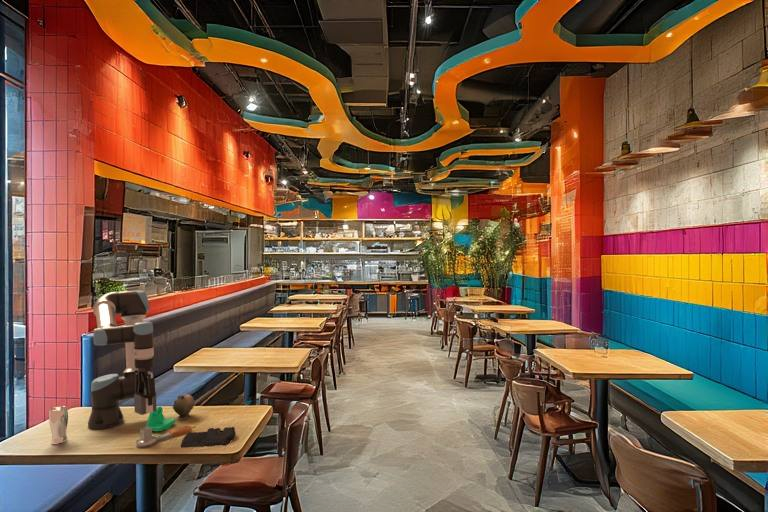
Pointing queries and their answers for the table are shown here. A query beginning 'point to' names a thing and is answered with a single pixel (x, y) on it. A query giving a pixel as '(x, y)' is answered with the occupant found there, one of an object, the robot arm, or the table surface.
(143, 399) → the brushed brown cube
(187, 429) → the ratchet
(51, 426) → the beer glass
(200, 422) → the table surface
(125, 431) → the table surface
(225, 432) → the dark slate chunk
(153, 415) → the camera mount
